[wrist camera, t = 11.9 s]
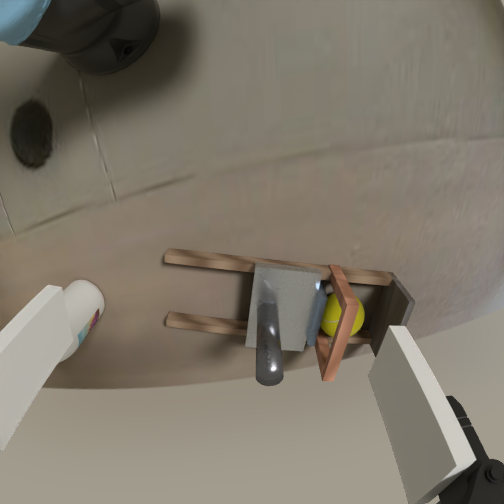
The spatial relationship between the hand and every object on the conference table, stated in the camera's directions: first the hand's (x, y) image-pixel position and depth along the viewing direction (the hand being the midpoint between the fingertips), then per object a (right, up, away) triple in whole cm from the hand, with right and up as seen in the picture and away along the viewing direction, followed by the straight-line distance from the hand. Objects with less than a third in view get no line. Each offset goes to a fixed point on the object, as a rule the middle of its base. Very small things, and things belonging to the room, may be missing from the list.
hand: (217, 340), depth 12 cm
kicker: (+6, -4, +37) cm, 37 cm away
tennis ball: (+15, -5, +37) cm, 40 cm away
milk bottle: (-27, -5, +38) cm, 47 cm away
